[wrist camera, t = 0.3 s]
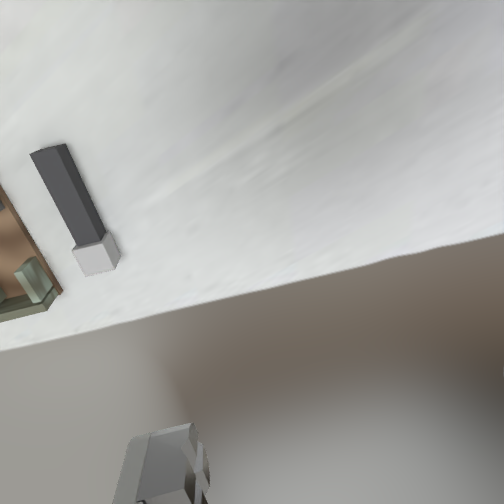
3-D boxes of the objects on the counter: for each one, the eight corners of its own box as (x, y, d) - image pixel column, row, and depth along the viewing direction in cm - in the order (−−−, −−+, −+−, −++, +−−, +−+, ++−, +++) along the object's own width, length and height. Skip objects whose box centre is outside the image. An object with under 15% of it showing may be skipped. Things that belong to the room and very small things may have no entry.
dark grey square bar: (36, 150, 39) (20, 157, 36) (69, 142, 39) (56, 148, 36) (93, 262, 47) (85, 276, 43) (121, 255, 47) (114, 269, 44)
